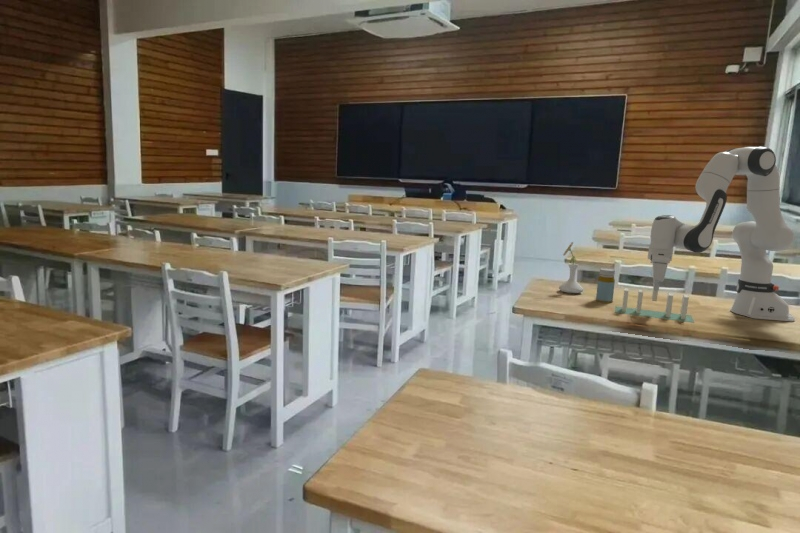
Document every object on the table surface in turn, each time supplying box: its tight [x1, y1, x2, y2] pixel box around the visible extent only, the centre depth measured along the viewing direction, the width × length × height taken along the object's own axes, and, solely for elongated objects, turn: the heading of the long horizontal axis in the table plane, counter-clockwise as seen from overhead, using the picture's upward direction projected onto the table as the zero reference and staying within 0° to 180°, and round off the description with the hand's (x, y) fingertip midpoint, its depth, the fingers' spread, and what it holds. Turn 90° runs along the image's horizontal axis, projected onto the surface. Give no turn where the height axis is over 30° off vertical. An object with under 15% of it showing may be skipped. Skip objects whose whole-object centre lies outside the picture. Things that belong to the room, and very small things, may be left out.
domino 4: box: [679, 294, 690, 319], centre depth 212 cm, size 2×5×9 cm, turn 157°
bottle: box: [595, 267, 616, 304], centre depth 236 cm, size 7×7×15 cm
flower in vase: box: [558, 241, 584, 294], centre depth 253 cm, size 13×11×25 cm
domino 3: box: [665, 292, 674, 317], centre depth 214 cm, size 2×5×9 cm, turn 157°
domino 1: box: [635, 289, 644, 314], centre depth 219 cm, size 2×5×9 cm, turn 157°
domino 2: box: [651, 285, 659, 302], centre depth 215 cm, size 2×5×9 cm, turn 157°
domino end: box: [621, 287, 630, 312], centre depth 221 cm, size 2×5×9 cm, turn 157°
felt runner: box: [614, 305, 695, 324], centre depth 217 cm, size 29×12×1 cm, turn 66°
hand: (655, 289), depth 215 cm, fingers closed on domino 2, 5 cm apart
